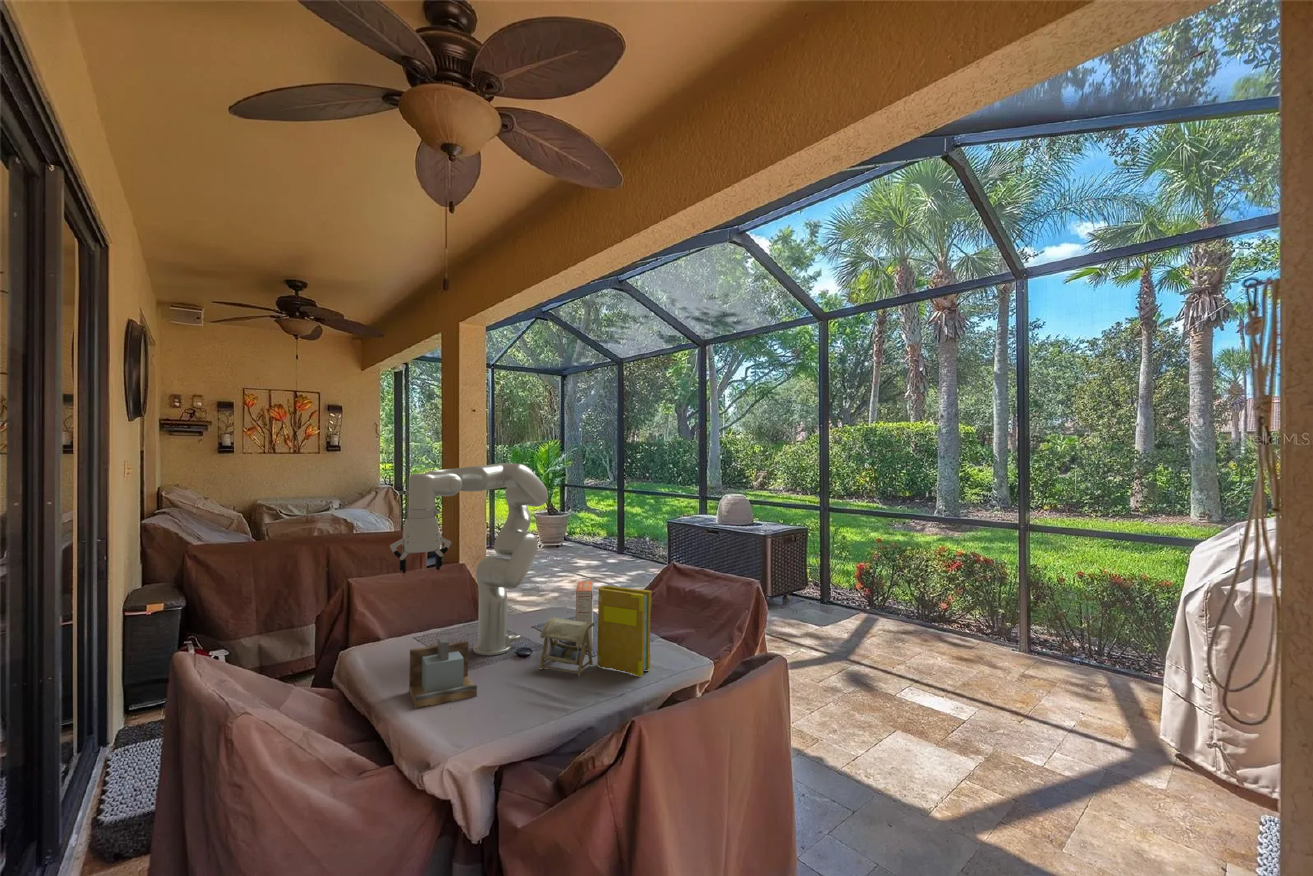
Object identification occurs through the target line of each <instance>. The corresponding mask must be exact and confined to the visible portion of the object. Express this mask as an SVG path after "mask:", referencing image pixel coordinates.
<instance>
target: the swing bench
mask: <svg viewBox="0 0 1313 876" xmlns="http://www.w3.org/2000/svg"><path fill="white" fill-rule="evenodd" d="M592 626H593V627H595V623H594V622H593V623H589V622H580V621H576V620H571V619H565V618H560V617H551V618H549V619H548V620H547V621H546V623H545V624H544V626H543V628H542V630H541V631H540V632H541V633H540V636H539V637H540V639H543V646H542V652H541V657H540V658H541V659H540V663H539V669H540V668H543V669H545V668H548V669H547V670H551V669H554V670H553V671H557V670H559V672H563V671H564V673H568V672H569V673H570V674H574V673H576V674H575V675H577V674H578V675H579V674H581V675H582V670H583V669H585V668H586V667H588V665H589V666H590V665H593V666H594V662H593V655H592V650H591V646H590V640H589V633H588V629H589V628H590V627H592ZM560 640H561V641H565V642H572V643H576V642H578V643H579V645H580V644H582V647H579V645H578V647H576V645H568V644H565V643H561V642H558V641H560ZM586 642H587V645H586ZM549 644H550V645H549ZM548 646H549V647H550V652H549V654H547V652H548ZM587 649H588V650H587ZM586 653H587V655H588V661H587V662H586V663H585V664H584V660H585V657H586ZM548 661H552V662H557V663H559V664H560V663H561V664H564V665H565V664H566V665H575V666H578V668H577V670H571V669H566V668H559V667H554V666H548V665H545V663H546V662H548ZM569 673H568V674H569Z"/></svg>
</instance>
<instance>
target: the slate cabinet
mask: <svg viewBox="0 0 1313 876" xmlns="http://www.w3.org/2000/svg"><path fill="white" fill-rule="evenodd" d="M449 643H450V642H449V640H448V639H447V637H446V636H441V637H437V645H438V654H435V655H429V656H423V657H422V687H423V689H424V691H425V693H431V692H437V691H442V690H447V689H452V688H457V687H462V686H463V679H464V658H463V656H462V655H461V654H460V652H459V651H454V652H449Z"/></svg>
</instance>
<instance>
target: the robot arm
mask: <svg viewBox="0 0 1313 876" xmlns="http://www.w3.org/2000/svg"><path fill="white" fill-rule="evenodd" d="M501 488H502V489H503V488H505V495H504V496H505V500H506V502H507V507H508V514H507V518H506V520H505V522H504V524H503V525H502V527H501V530H500V532H499V534H498V535H497V537H496V540H495V542H494V545H493V549H494V552H495V553H496V554H497V555H498V556H500V557H495V556H487V557H485V558H483V559H481V561H479V563H478V564H477V567H476V570H475V573H476V574H475V575H476V582H477V587H478V589H477V590H478V620H477V621H478V622H477V623H478V626H477V627H478V628H477V631H478V632H477V643H476V644H474V645H473V646H472V647H473V648H472V649H473V650H472V651H473V652H474V653H475V654H476V655H479V656H496V655H501V654H505V653H507V652H509V651H510V650H511V649H512V644H511V643H513V642H520V641H521V635H520V634H516V635H515V634H510V635H509V634H508V631H507V630H508V594H507V590H506V589H510V590H514V589H517V588H518V587H520V586H521V584H522V583H523V582H524V580H525V578H526V577H527V574H528V572H529V570H530V568H531V566H532V564H533V562H534V560H535V557H536V556H537V551H538V547H539V546H538V544H539V543H538V539H537V537H536V536H535V534H533V533H532V532H528V530H529V528H530V526H531V519H532V518H531V513H530V510H529V507H533V508H537V507H541V506H543V505H545V503H546V502H547V500H548V496H549V494H548V493H549V492H548V488H547V487H546V486H545V484H544V483H543V481H541V479H540V478H539V477H538V476H537V475H536V474H535V473H534V471H532V470H531V469H530V468H529V467H528V466H527V465H525V464H523V463H515V462H514V463H512V462H510V463H509V462H501V463H493V464H485V465H484V464H483V465H476V466H475V465H474V466H465V467H459V468H448V469H437V470H435V469H434V470H429V471H427V472H425V473H423V472H421V473H420V472H417V473H412V474H410V476H409V478H408V517H407V518H405V519H404V525H403V531H402V538H401V539H399V540H397V541H394V542H393V543H392V544H390V545H389V547H390V550H391V551H392V553H393V555H394V556H396V557H397V558H398V559H399V571H401V573H402V574H406V569H407V561H406V557H407V555H409V554H415V553H418V554H419V553H428V552H435V554H436V555H435V559H434V560H435V563H434V565H435V570H436V571H440V569H441V567H442V566H443V564H442V562H443V559H442V557H444V555H445V554H446V553H447V552H448V550H449V549H450V546H451V545H452V541H451V540H449V539H446V538H445V537H442V536H440V529H439V528H440V527H439V526H440V525H439V522H438V521H439V520H438V518H437V517H436V516H438V515H440V514H441V509H438V508H436V497H438V496H439V497H440V496H441V497H453V496H455V495H457V494H458V493H459V492H471V493H472V492H482V491H488V490H494V489H501ZM440 542H441V543H443V544H444V546H443V547H442V548H441V549H440ZM400 545H401V547H402V552H401V553H400V552H399V551H398V549H397V548H398V547H399V546H400ZM503 557H505V558H503ZM508 558H509V559H508Z"/></svg>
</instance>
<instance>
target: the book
mask: <svg viewBox="0 0 1313 876" xmlns="http://www.w3.org/2000/svg"><path fill="white" fill-rule="evenodd" d="M597 594H598V602H597V603H598V605H597V610H598V611H597V663H596V664H598V665H599V666H600V667H605V668H613V669H616V670H620V671H625V672H629V673H632V674H635V675H638V676H642V675H643V674H644V672H645V671H644V670H648V669H649V668H650V669H651V613H652V612H651V607H652V590H648V589H638V588H628V587H622V586H621V587H620V586H613V585H603V586H602V585H601V586H599V587H598V593H597ZM643 676H644V675H643ZM643 676H642V677H643Z"/></svg>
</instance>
